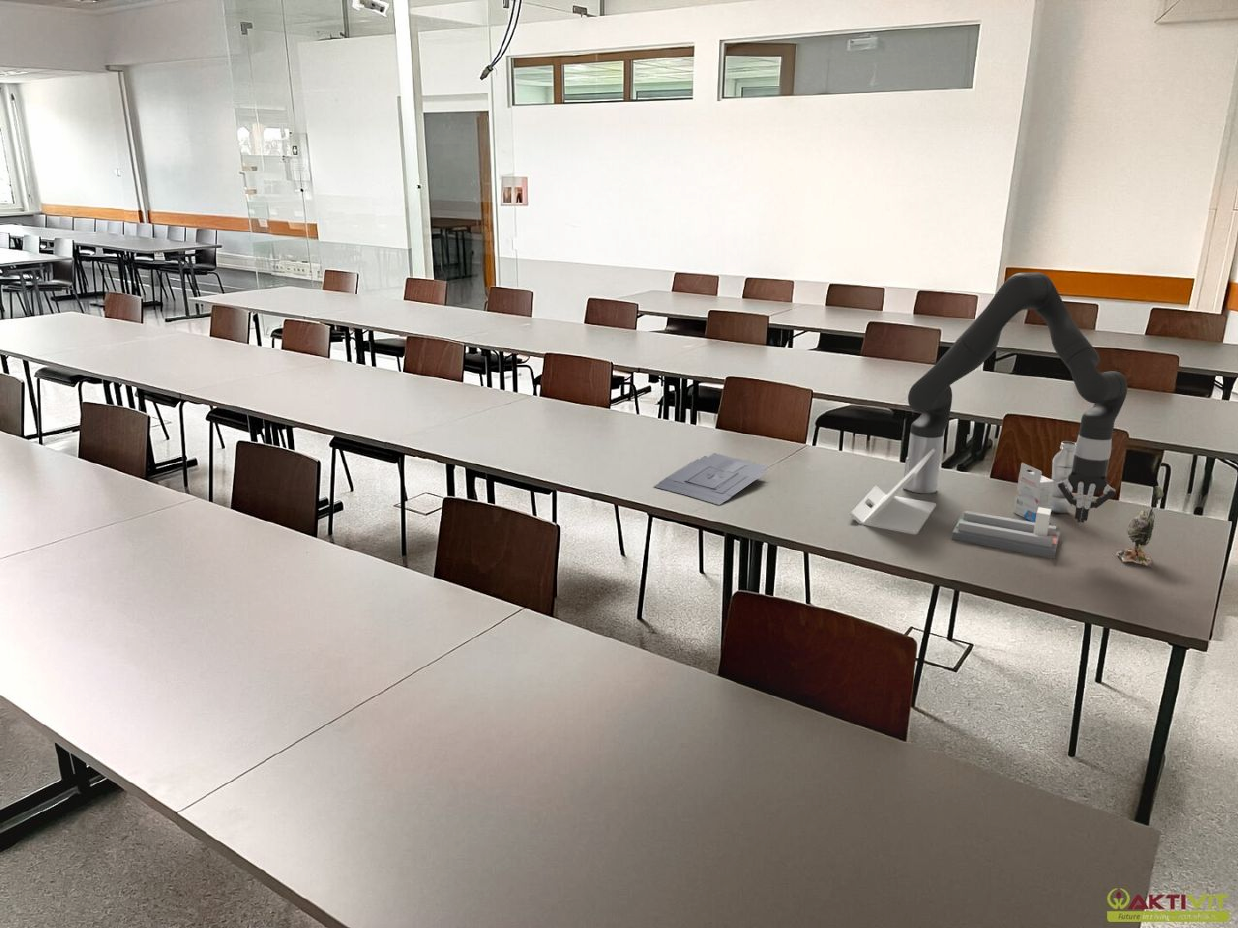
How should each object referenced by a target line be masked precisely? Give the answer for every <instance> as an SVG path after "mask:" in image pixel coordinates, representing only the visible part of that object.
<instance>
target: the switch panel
mask: <svg viewBox="0 0 1238 928" xmlns="http://www.w3.org/2000/svg"><path fill="white" fill-rule="evenodd" d="M1034 526H1035V523H1034V522H1031V521H1029V520H1023V519H1016V518H1010V517H1004V516H998V515H993V514H988V513H982V512H976V511H971V510H965V511H964V513H963V514H961V516H960V517H959V519H958V521H957V523H956V525H955V527H954V529H953V530H952V532H951V533H952V534H951V540H954V541H955V540H956V541H960V542H966V543H970V544H975V545H982V546H987V547H990V548H991V547H992V548H995V549H996V548H997V549H1002V550H1007V551H1012V552H1018V553H1022V554H1023V553H1024V554H1028V555H1034V556H1041V557H1043V558H1049V559H1055V557H1056V552H1057V549H1058V546H1059V545H1058V544H1059V539H1060V534H1061V531H1059V530H1057V526H1056V525H1051V524H1049V527H1048V533H1047V536H1045V535H1039V534H1034V533H1033V532H1034Z"/></svg>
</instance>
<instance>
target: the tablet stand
mask: <svg viewBox="0 0 1238 928" xmlns="http://www.w3.org/2000/svg"><path fill="white" fill-rule="evenodd" d="M934 452H935V449H934V448H933V449H932V450H931V451H930V452H929V453H928V454H927V455H926V456H925V457H924V458H923V459H922V460H921V461H920V462H919V463H918V464H917V465H916V466H915V467H914V468H913V469H912V470H911V471H910V472H909V473H908V474H907V475H906V476H905V477H904V476H903V478H902V479H901V480H900V481H899V482H898V483H897V484H896V485H895V486H893V488H892V489H891V490H890V491H889V492H888V493H887V494H886V493H885V492H884V491H883V490H882V489H880V488H879V487H878V486H877V485H874V486H873V487H872V488H871V489H870V491H869V492H868V493H867V494H866V495H865V497H863V498H862V499H861V501H860V502H859V503H858V504H857V505H856V506H855V507H854V509H853V510H851V511H850V512H849V516H850V517H851V518H852V519H854V521H856V522H857V523H858V524H860V525H864V526H870V527H874V528H878V529H879V528H880V529H883V530H884V529H885V530H889V531H895V532H900V533H904V534H909V535H910V534H911V535H917V534H919V532H920V530H921V529H922V527H923V526H924V524H925V523H926V521H927V520H928V518H929V517H930V516H931V514H932V512H934V510H935V508H936V506H937V503H935V502H931V501H927V500H926V501H925V500H920V499H914V498H908V497H903V496H902V497H901V496H897V494H898V493H900V491H902V490H903V487H904V486H905V485H906V484H907V483H908V482H909V481H910V480H911V479H912V478H913V477H914V476H915V475H916V474H917V472H918V471H919V470H920V469H921V468H922V466H923V465H924V464H925V463H926V461H927V460H928V459H929V458H930V456H931V455H932V454H933V453H934ZM866 502H868V503H869V504H870V505H871V507H870V506H869V505H867V503H866Z"/></svg>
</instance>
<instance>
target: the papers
mask: <svg viewBox="0 0 1238 928" xmlns="http://www.w3.org/2000/svg"><path fill="white" fill-rule="evenodd" d="M769 467H770V465H766V464H762V463H756V462H753V461H749V460H745V459H744V460H743V459H740V458H735V457H732V456H727V455H723V454H720V453H719V454H718V453H711V455H707V456H706V455H705V456H704V455H703V456H702V457H701V458H699V459H698V458H697V459H695V460H693V461H691V462H690V463H688V464H686V465H684V466H683V467H681V468H680V469H677V470H676V471H674V472H673V473H672V474H671V473H670V474H669V475H668V476H667V477H665V478H664V479H662V480H660V481H659V482H658V483H656V484H655V485H654V486H653V487H654V488H658V489H662V490H664V491H668V492H673V493H677V494H680V495H681V494H682V495H684V496H685V495H686V496H689V497H692V498H695V499H697V500H701V501H705V502H708V503H711V504H715V505H717V506H721V505H722V504H723V503H725V502H727V501H728V500H730V499H731V498H732V497H734V496H735V495H736V494H737V493H739V492H741V491H742V490H743V489H744V488H746V487H748V486H749V485H750V484H751V483H753V482H755V481H756V480H758V479H759V478H761V477H762V476H763V474H765V473H766V472H767V470H766V469H768V468H769Z"/></svg>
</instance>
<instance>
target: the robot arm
mask: <svg viewBox="0 0 1238 928" xmlns="http://www.w3.org/2000/svg"><path fill="white" fill-rule="evenodd" d="M995 293H996V294H995V295H994V296H993V298H992V299H991V300H990V301H989V303H988V304H987V306H986V307H984V310H982V312H981V313H980V314H979V315H978V316H977V317H976V318H975V319H974V321H973V322H971V324H970V325H969V326H968V327H967V329H966V330H965V331H963V333H961V335H960V336H959V337H958V338H957V340H956V341H954V343H953V344H952V346H950V348H949V349H948V350H947V351H945V353H944V354H943V355H942V356H941V357H940V359H938V361H937V362H936V363H935V364H934V366H932V367H931V369H929V370H928V371H927V372H926V373H924V375H923V376H921V377H920V378H919V379H918V380H916V381H915V383H913V384H912V386H911V388H910V389H909V391H908V395H907V402H908V405H909V407H910V409H911V410H913V411H914V412H916V413H917V412H918V413H921V414H920V416H918V417H917V419H915V420H914V421H913V422H912V423H911V425H910V433H909V441H908V451H907V456H906V458H905V464H904V473H903V478H904V477H905V476H906V475H907V474H908V473H909V472H910V471H911V470H912V469H913V468H914V467H915V466H916V465H917V464H918V463H919V462H920V461H921V460H922V459H923V458H924V457H925V456H926V455H927V454H928V453H929V452H930V451H931V450H932V449H933V448H934V449H935V452H934V453H933V454H932V455H931V456H930V458H929V459H928V460H927V461H926V463H925V464H924V465H923V466H922V468H921V469H920V470H919V471H918V472H917V474H916V475H915V476H914V477H913V478H912V479H911V480H910V481H909V482H908V483H907V484H906V485H905V486H904V487H903V488H902V490H903V489H904V490H906V491H909V492H913V493H917V494H933V493H936V492H937V490H938V483H939V475H940V474H939V473H940V467H941V459H942V450H943V443H944V435H945V430H946V428H947V427H948V424H949V420H950V414H951V408H952V403H953V391H952V387H951V385H952V384H954V383H956V382H957V381H959V380H960V379H962V378H965V377H966V376H967V375H969V374H970V373H972V372H974V370H976V369H978V368H979V367H981V365H982V364H983V363H984V362H985V361H986V360H987V359H988V358H989V357H990V356H991V355H992V354H993V353H994V351H995V350H996V349H997V347H998V345H999V342H1000V338H1001V334H1002V330H1003V329H1004V327H1006V325H1007V324H1008V323H1009V321H1010V320H1012V319H1013V317H1015V316H1016V315H1017V314H1018V313H1020V312H1021V311H1028V310H1031V311H1032V310H1033V311H1034V312H1036V313H1037V314H1038V316H1040V317H1041V318H1042V319H1043V321H1044V322H1045V324H1046V325H1047V326H1048V327H1047V328H1048V331H1049V334H1050V340H1051V343H1052V347H1053V349H1054V351H1055V352H1056V354H1057V355H1058V357H1059V358H1060V359H1061V361H1062V362H1063V364H1064V365H1065V366H1066V367H1067V368H1068V370H1069V372H1070V374H1071V377H1072V380H1073V382H1074V386H1075V388H1076V390H1077V393H1078V394H1079V395H1080V396H1081V397H1082V399H1083V400H1085V401H1087V403H1091V404H1093V406H1092V407H1091V408H1090V409H1088V410H1087V411H1085V412H1083V414H1082V416H1081V419H1080V425H1079V430H1078V431H1079V432H1078V436H1077V440H1076V442H1075V443H1076V447H1075V453H1074V459H1073V465H1072V471H1071V474H1070V475H1069V476H1068V479H1066V480H1064V481H1062V480H1061V481H1059V483H1058V487H1059V489H1060V490H1061V492H1062V493H1063V495H1064V496H1065V498H1066V499H1067V501H1068V502H1069V503H1070V504H1072V506H1074V507H1075V513H1074V520H1077V521H1076V522H1077V523H1081V524H1083V523H1084V522H1087V520H1088V518H1089V512H1090V510H1091V509H1093V508H1094V509H1097V508H1099V507H1101V506H1102V505H1103V504H1104V503H1106V502H1107V501H1108V500H1109V499H1111V498H1112V497H1113V496H1115V494H1116V489H1115V488H1114V487H1111V486H1110V485H1109V484H1108V482H1109V481H1108V479H1107V475H1108V469H1109V463H1110V458H1111V453H1112V442H1113V441H1112V439H1113V433H1114V429H1115V422H1116V419H1117V417H1118V416H1119V413H1120V412H1121V409H1122V407H1123V405H1124V402H1125V400H1126V397H1127V395H1128V394H1127V393H1128V382H1127V379H1126V378H1125V376H1124V374H1122V373H1121V372H1118V371H1116V370H1115V371H1111V370H1110V371H1103V372H1100V371H1099V370H1098V368H1097V367H1096V366H1097V365H1098V364H1099V363H1100V359H1101V358H1100V355H1099V354H1098V351H1097V350H1096V349H1095V348H1094V346H1093V345H1092V344H1091V342H1089V340H1088V339H1087V338H1086V336H1085V335H1084V334H1083V332H1082V331H1081V330H1080V329H1079V327H1078V326H1077V324H1076V322H1075V321H1074V319H1073V318H1072V316H1071V314H1070V312H1069V310H1068V309H1067V307H1066V304H1065V302H1064V301H1063V300H1062V297H1061V296H1060V293H1059V292H1058V289H1057V287H1056V286H1055V284H1054V282H1053V281H1052V279H1051V278H1050V277H1049V276H1047V275H1046V274H1044V273H1043V272H1042V273H1041V272H1018V273H1015V274H1013V275H1011V276H1010V277H1008V278H1007V279H1006V280H1005V281H1004V283H1002V285H1001V286H1000V287H999V289H998V291H997V292H995ZM1069 483H1070V484H1071V486H1072V490H1073V491H1074V492H1075V493H1077V494H1076V498H1075V496H1074V495H1073V492H1072V493H1071V492H1070V490H1069V489H1068V488H1069ZM1103 489H1104V490H1103ZM1100 492H1102V493H1103V494H1101V495H1100V496H1098V497H1097V498H1096V499H1095V500H1093V496H1095V495H1098V493H1100ZM1084 495H1086V498H1085V501H1084ZM1092 500H1093V501H1092ZM1083 501H1084V503H1083Z"/></svg>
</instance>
